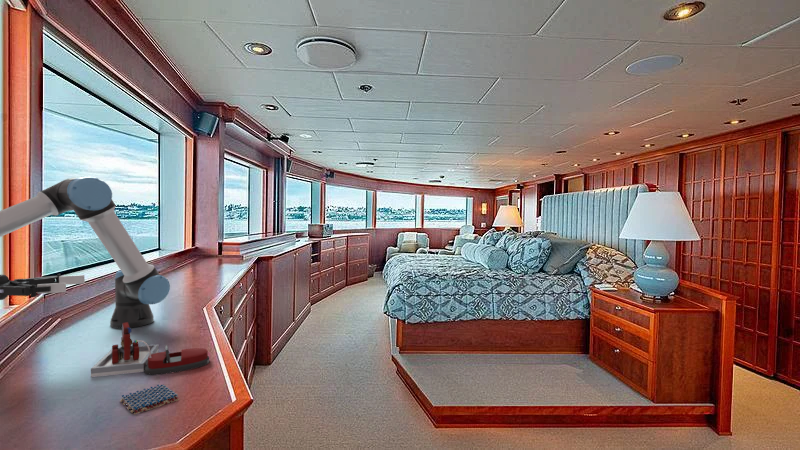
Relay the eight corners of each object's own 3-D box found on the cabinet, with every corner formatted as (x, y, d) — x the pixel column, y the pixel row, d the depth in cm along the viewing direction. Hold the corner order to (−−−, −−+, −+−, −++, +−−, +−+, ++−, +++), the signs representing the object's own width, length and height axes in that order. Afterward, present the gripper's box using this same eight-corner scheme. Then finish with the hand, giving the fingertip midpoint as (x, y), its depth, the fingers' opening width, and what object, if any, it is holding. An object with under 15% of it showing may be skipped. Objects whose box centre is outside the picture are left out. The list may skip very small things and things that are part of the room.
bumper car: (210, 367, 122) (210, 335, 122) (132, 380, 112) (132, 345, 111) (207, 357, 130) (207, 326, 130) (134, 368, 120) (134, 335, 120)
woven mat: (133, 418, 92) (133, 409, 92) (118, 403, 99) (118, 395, 99) (180, 401, 100) (180, 394, 100) (164, 389, 107) (164, 382, 107)
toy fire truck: (112, 367, 117) (111, 332, 117) (111, 355, 127) (111, 323, 127) (140, 362, 121) (140, 329, 121) (137, 351, 131) (137, 319, 131)
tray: (113, 355, 130) (113, 348, 130) (158, 351, 134) (158, 344, 134) (90, 377, 113) (90, 368, 113) (143, 371, 117) (143, 363, 117)
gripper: (12, 291, 128) (91, 287, 135) (-43, 311, 105) (56, 304, 112) (11, 268, 128) (90, 265, 135) (-44, 283, 104) (55, 278, 112)
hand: (75, 283), depth 124 cm, fingers open, 13 cm apart
